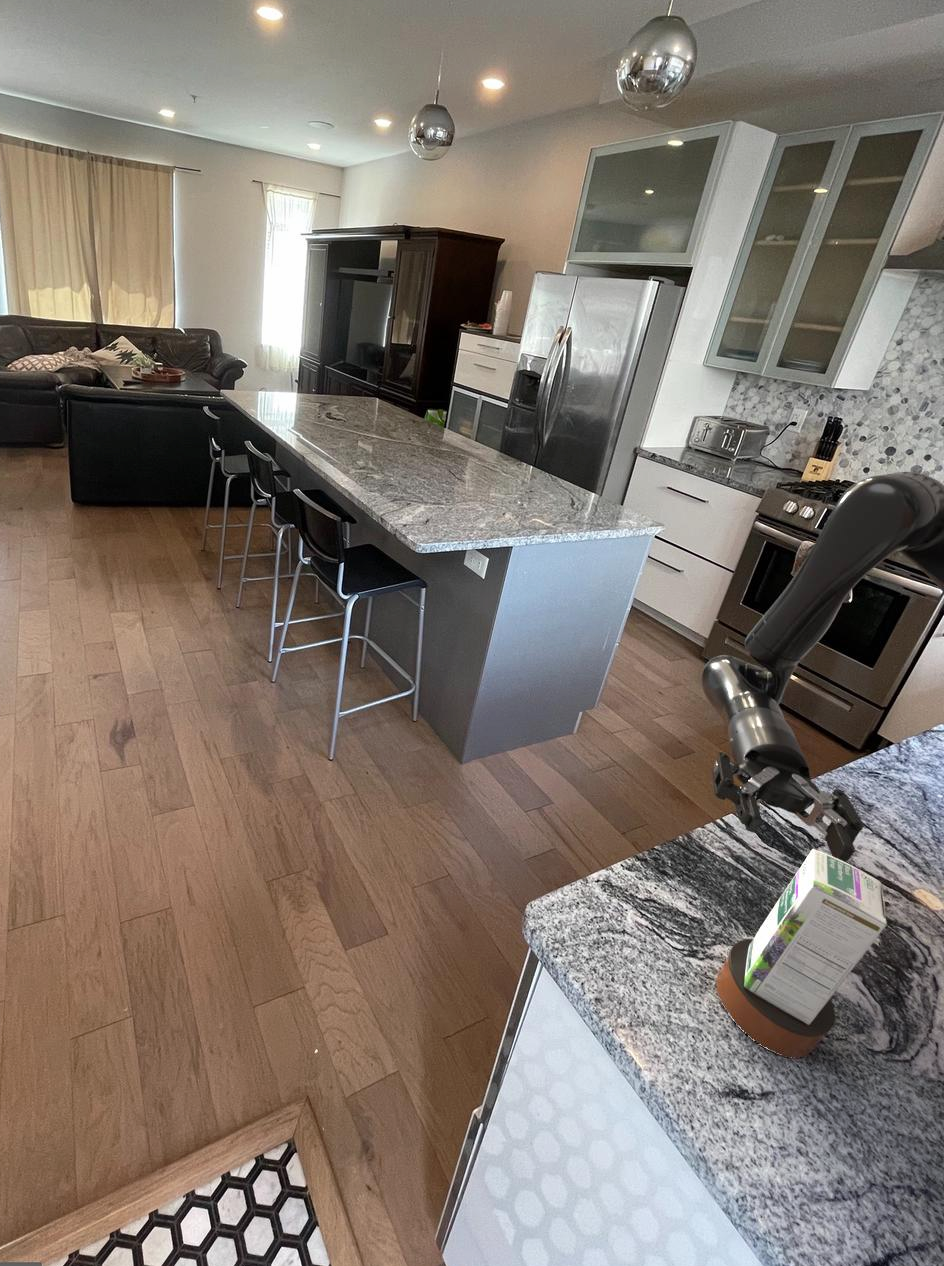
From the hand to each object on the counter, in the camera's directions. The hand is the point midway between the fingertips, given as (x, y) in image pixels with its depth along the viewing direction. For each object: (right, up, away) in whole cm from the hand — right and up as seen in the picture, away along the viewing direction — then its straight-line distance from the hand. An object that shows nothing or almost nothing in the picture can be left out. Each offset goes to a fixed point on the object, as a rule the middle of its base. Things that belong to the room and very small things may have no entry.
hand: (798, 841), depth 66 cm
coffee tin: (-5, -16, -3) cm, 17 cm away
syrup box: (-5, -12, -4) cm, 14 cm away
